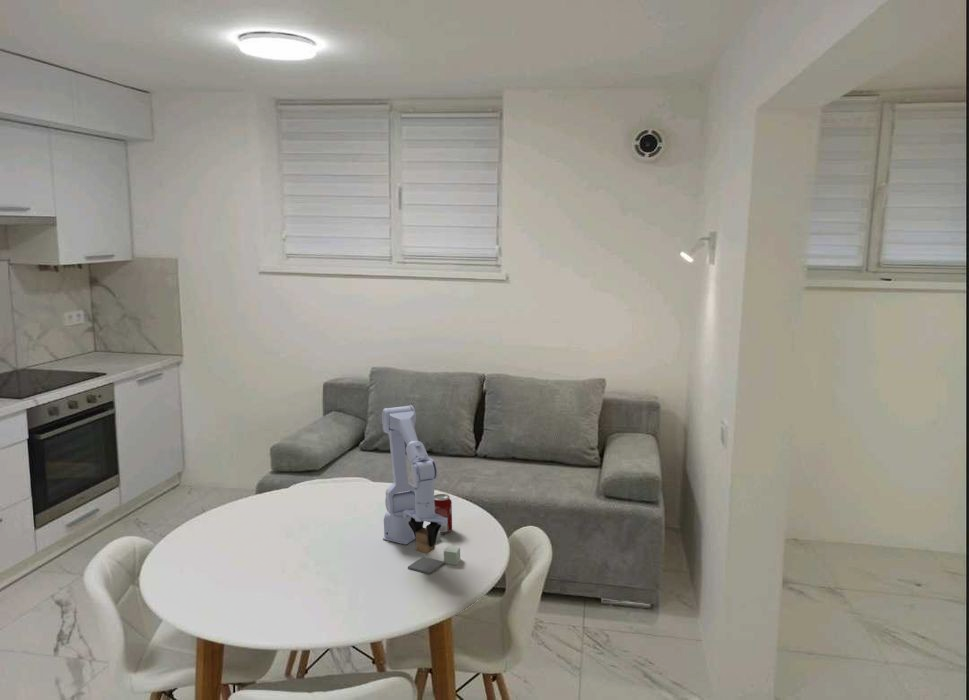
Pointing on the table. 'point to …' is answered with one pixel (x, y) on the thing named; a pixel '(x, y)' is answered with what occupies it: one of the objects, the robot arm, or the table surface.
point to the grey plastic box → (438, 536)
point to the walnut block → (423, 541)
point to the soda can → (444, 510)
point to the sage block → (452, 555)
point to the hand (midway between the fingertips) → (425, 543)
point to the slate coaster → (426, 565)
